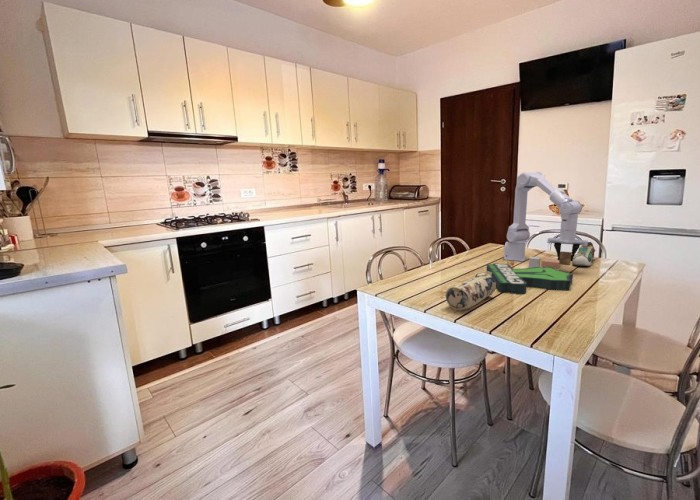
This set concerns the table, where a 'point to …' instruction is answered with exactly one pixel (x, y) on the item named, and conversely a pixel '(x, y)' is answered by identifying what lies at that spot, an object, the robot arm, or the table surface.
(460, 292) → the pencil case
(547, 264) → the terracotta tile
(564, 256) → the walnut block
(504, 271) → the emblem
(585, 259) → the sneaker
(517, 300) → the table surface
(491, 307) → the table surface
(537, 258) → the light grey block
